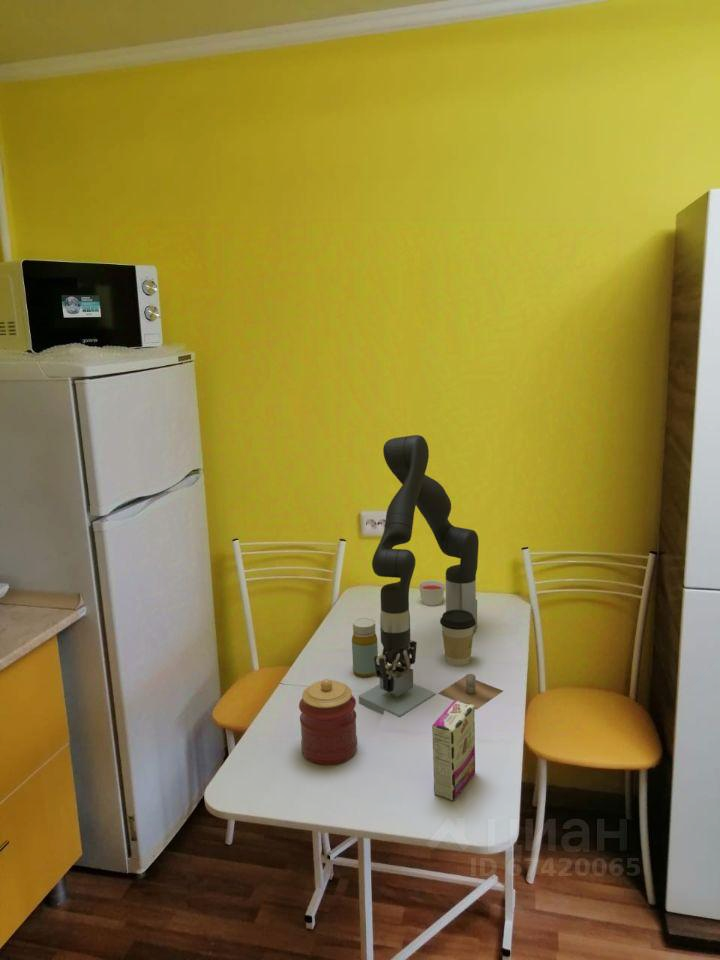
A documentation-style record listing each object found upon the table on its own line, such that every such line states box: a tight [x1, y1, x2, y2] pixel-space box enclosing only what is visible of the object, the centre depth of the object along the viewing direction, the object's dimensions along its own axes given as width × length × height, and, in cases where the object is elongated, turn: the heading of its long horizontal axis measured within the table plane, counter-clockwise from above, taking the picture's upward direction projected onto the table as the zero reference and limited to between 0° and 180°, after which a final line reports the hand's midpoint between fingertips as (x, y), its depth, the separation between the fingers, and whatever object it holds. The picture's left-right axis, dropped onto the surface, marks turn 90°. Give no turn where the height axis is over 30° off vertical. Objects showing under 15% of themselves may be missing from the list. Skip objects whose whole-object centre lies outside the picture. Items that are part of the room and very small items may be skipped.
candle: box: [418, 579, 446, 607], centre depth 249 cm, size 9×9×6 cm
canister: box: [298, 678, 358, 766], centre depth 165 cm, size 13×13×18 cm
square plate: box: [358, 671, 437, 718], centre depth 186 cm, size 14×14×8 cm
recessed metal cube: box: [379, 663, 414, 696], centre depth 185 cm, size 6×6×5 cm
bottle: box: [351, 617, 379, 678], centre depth 201 cm, size 7×7×15 cm
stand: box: [437, 673, 504, 711], centre depth 187 cm, size 12×12×6 cm
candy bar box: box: [431, 700, 476, 801], centre depth 152 cm, size 11×5×16 cm, turn 148°
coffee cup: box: [439, 610, 476, 667], centre depth 203 cm, size 10×10×15 cm
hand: (396, 685), depth 185 cm, fingers closed on recessed metal cube, 6 cm apart
